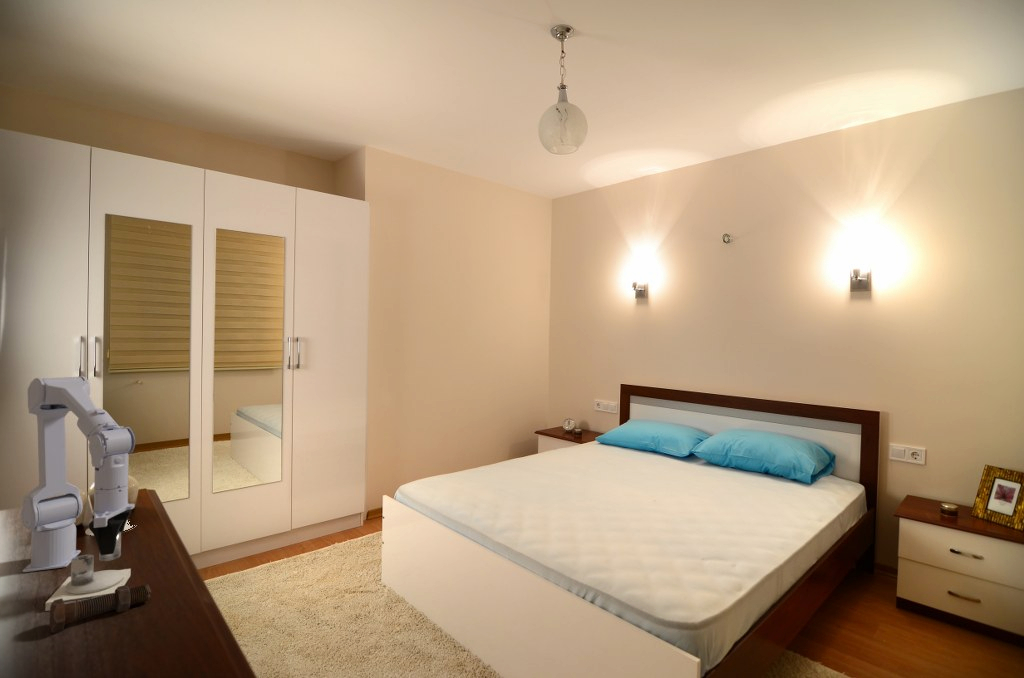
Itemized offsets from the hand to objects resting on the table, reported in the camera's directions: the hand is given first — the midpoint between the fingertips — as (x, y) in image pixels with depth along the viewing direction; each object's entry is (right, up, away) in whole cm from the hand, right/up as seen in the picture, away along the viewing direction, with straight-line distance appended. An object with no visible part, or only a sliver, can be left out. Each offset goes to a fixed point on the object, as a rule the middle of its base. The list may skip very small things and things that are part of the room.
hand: (110, 550), depth 110 cm
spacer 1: (-4, -6, -2) cm, 8 cm away
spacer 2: (0, -2, 0) cm, 2 cm away
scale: (-3, -8, -1) cm, 9 cm away
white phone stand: (-26, -8, +34) cm, 44 cm away
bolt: (+6, -9, -10) cm, 15 cm away
